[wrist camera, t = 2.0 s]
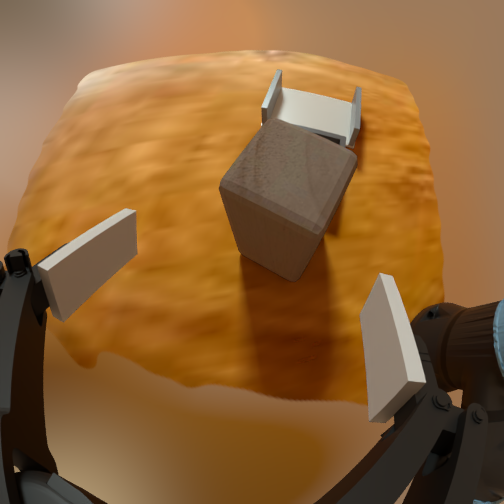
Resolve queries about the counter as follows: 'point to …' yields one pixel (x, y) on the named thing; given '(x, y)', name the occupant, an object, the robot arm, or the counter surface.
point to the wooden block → (285, 195)
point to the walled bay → (313, 110)
